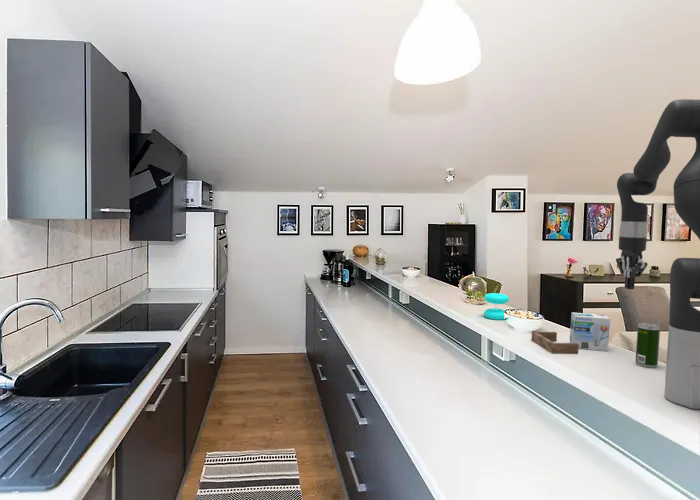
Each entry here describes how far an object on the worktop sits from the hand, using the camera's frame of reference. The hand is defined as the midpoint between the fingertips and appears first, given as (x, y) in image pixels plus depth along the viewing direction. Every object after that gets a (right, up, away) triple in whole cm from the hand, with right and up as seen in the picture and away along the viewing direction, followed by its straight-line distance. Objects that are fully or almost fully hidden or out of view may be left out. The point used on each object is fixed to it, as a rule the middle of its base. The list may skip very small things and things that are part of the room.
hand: (629, 288), depth 144 cm
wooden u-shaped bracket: (-24, -19, +2) cm, 31 cm away
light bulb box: (-12, -20, +3) cm, 23 cm away
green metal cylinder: (-5, -21, -15) cm, 27 cm away
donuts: (-29, -17, +45) cm, 56 cm away
